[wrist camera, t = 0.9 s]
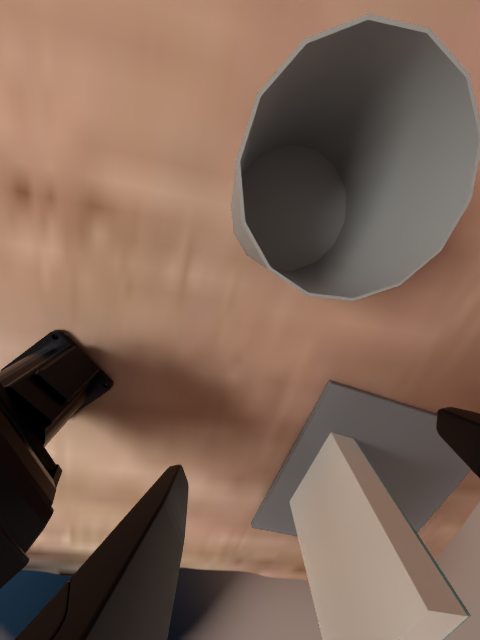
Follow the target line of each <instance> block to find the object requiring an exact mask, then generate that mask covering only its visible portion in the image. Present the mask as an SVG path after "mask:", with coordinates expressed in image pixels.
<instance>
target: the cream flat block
mask: <svg viewBox="0 0 480 640" xmlns="http://www.w3.org/2000/svg"><path fill="white" fill-rule="evenodd" d="M290 506H291V510H292V514H293V519H294V523H295V527H296V531H297V535H298V539H299V543H300V548H301V552H302V556H303V560H304V564H305V568H306V572H307V577H308V581H309V585H310V589H311V593H312V597H313V601H314V605H315V610H316V614H317V618H318V622H319V626H320V630H321V635H322V639H323V640H445V639H446V638H447V637H448V636H449V635H450V634H451V633H452V632H453V631H455V630H456V629H457V628H458V627H459V626H460V625H461V624H462V623H464V622H465V621H466V620H467V619H468V618H469V617H470V616H471V615H470V614H469V612H468V610H467V609H466V607H465V606H464V604H463V603H462V601H461V600H460V598H459V597H458V595H457V594H456V592H455V591H454V589H453V588H452V586H451V585H450V583H449V581H448V580H447V578H446V577H445V575H444V574H443V572H442V571H441V569H440V568H439V566H438V564H437V563H436V561H435V560H434V558H433V557H432V555H431V554H430V552H429V551H428V549H427V548H426V546H425V545H424V543H423V541H422V540H421V538H420V537H419V535H418V534H417V532H416V531H415V529H414V528H413V526H412V525H411V523H410V522H409V520H408V519H407V517H406V515H405V514H404V512H403V511H402V509H401V508H400V506H399V505H398V503H397V502H396V500H395V499H394V497H393V496H392V494H391V492H390V491H389V489H388V488H387V486H386V485H385V483H384V482H383V480H382V479H381V477H380V476H379V474H378V473H377V471H376V469H375V468H374V466H373V465H372V463H371V462H370V460H369V459H368V457H367V456H366V454H365V453H364V451H363V450H362V448H361V447H360V445H359V443H358V442H357V441H355V440H354V439H353V438H350V437H346V436H343V435H339V434H335V433H332V432H331V433H330V434H329V436H328V438H327V439H326V441H325V443H324V444H323V446H322V448H321V449H320V451H319V453H318V455H317V456H316V458H315V460H314V461H313V463H312V465H311V466H310V468H309V470H308V471H307V473H306V475H305V476H304V478H303V480H302V481H301V483H300V485H299V487H298V488H297V490H296V492H295V493H294V495H293V497H292V498H291V500H290Z"/></svg>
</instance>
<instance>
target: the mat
mask: <svg viewBox="0 0 480 640" xmlns="http://www.w3.org/2000/svg"><path fill="white" fill-rule="evenodd" d="M436 422H437V414H434V413H430V412H427V411H424V410H421V409H418V408H415V407H412V406H408V405H405V404H402V403H399V402H396V401H393V400H389V399H386V398H383V397H380V396H377V395H374V394H371V393H367V392H364V391H361V390H358V389H355V388H352V387H349V386H345V385H342V384H339V383H336V382H333V381H330V380H329V382H328V384H327V386H326V388H325V389H324V391H323V393H322V395H321V397H320V399H319V400H318V402H317V404H316V406H315V408H314V409H313V411H312V413H311V415H310V417H309V419H308V420H307V422H306V424H305V426H304V428H303V429H302V431H301V433H300V435H299V437H298V439H297V440H296V442H295V444H294V446H293V448H292V450H291V451H290V453H289V455H288V457H287V459H286V460H285V462H284V464H283V466H282V468H281V470H280V471H279V473H278V475H277V477H276V479H275V480H274V482H273V484H272V486H271V488H270V490H269V491H268V493H267V495H266V497H265V499H264V501H263V502H262V504H261V506H260V508H259V510H258V511H257V513H256V515H255V517H254V519H253V521H252V522H251V524H252V528H257V529H262V530H267V531H272V532H278V533H283V534H288V535H293V536H298V535H297V531H296V527H295V523H294V519H293V514H292V510H291V506H290V500H291V498H292V497H293V495H294V493H295V492H296V490H297V488H298V487H299V485H300V483H301V481H302V480H303V478H304V476H305V475H306V473H307V471H308V470H309V468H310V466H311V465H312V463H313V461H314V460H315V458H316V456H317V455H318V453H319V451H320V449H321V448H322V446H323V444H324V443H325V441H326V439H327V438H328V436H329V434H330V433H331V432H332V433H335V434H339V435H343V436H346V437H350V438H353V439H354V440H355V441H357V442H358V443H359V445H360V447H361V448H362V450H363V451H364V453H365V454H366V456H367V457H368V459H369V460H370V462H371V463H372V465H373V466H374V468H375V469H376V471H377V473H378V474H379V476H380V477H381V479H382V480H383V482H384V483H385V485H386V486H387V488H388V489H389V491H390V492H391V494H392V496H393V497H394V499H395V500H396V502H397V503H398V505H399V506H400V508H401V509H402V511H403V512H404V514H405V515H406V517H407V519H408V520H409V522H410V523H411V525H412V526H413V528H414V529H415V531H416V532H418V531H419V530H420V529H421V528H422V527H423V525H424V524H425V523H426V522H427V521H428V520H429V518H430V517H431V516H432V515H433V514H434V512H435V511H436V510H437V509H438V508H439V507H440V505H441V504H442V503H443V502H444V501H445V500H446V498H447V497H448V496H449V495H450V494H451V493H452V491H453V490H454V489H455V488H456V487H457V486H458V484H459V483H460V482H461V481H462V480H463V478H464V477H465V476H466V475H467V474H468V473H469V471H470V470H471V469H470V468H469V467H468V466H467V465H466V464H465V463H464V461H463V460H462V459H461V458H460V457H459V456H458V455H457V454H456V453H455V452H454V451H453V450H452V449H451V448H450V446H449V445H448V444H447V443H446V442H445V441H444V440H443V439H442V438H441V437H440V435H439V434H438V432H437V429H436Z"/></svg>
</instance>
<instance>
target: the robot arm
mask: <svg viewBox="0 0 480 640" xmlns="http://www.w3.org/2000/svg"><path fill="white" fill-rule="evenodd" d="M55 335H57V336H58V338H57V337H56V336H55ZM105 383H107V384H108V385H105ZM113 384H114V383H113V381H112V380H111V379H110V378H109V377H108V376H107V375H106V374H105V373H104V372H103V371H102V370H101V369H100V368H99V367H98V366H97V365H96V364H95V363H94V362H93V361H92V360H91V359H90V358H89V357H88V356H87V355H86V354H85V353H84V352H83V351H82V350H81V349H80V348H79V347H78V346H77V345H76V344H75V343H74V342H73V341H71V340H70V339H69V338H68V337H67V336H66V335H65V334H64V333H63V332H62V331H60V330H54V331H52V332H50V333H49V334H48V335H46V336H45V337H44V338H42V339H41V340H40V341H38V342H37V343H36V344H34V345H33V346H32V347H30V348H29V349H28V350H27V351H25V352H24V353H23V354H21V355H20V356H19V357H17V358H16V359H15V360H13V361H12V362H11V363H9V364H8V365H7V366H5V367H4V368H3V369H2V370H1V372H0V589H1V588H2V587H3V586H4V585H5V584H6V583H7V582H8V581H9V580H10V579H12V578H13V577H14V576H15V575H16V574H17V573H18V572H19V571H20V570H21V569H23V568H24V567H25V566H26V565H27V563H28V562H29V557H28V556H27V555H26V554H25V553H26V552H27V551H28V550H29V548H30V547H31V546H32V544H33V543H34V542H35V540H36V539H37V538H38V536H39V535H40V534H41V532H42V531H43V530H44V528H45V526H46V525H47V523H48V521H49V519H50V518H51V516H52V514H53V511H54V510H53V508H52V507H51V506H52V504H53V500H54V496H55V493H56V487H57V484H58V481H59V479H60V476H61V473H62V469H61V468H60V466H59V465H58V464H55V462H54V461H53V459H52V458H51V456H50V455H49V453H48V452H47V450H46V449H45V448H44V447H45V446H46V445H47V443H48V442H49V441H50V440H51V439H52V438H53V437H54V436H55V434H56V433H57V432H58V431H59V430H60V429H61V428H62V427H63V425H64V424H65V423H66V422H67V421H68V420H69V419H70V418H71V416H72V415H73V414H75V413H76V412H78V411H79V410H81V409H82V408H83V407H85V406H86V405H88V404H89V403H91V402H92V401H94V400H95V399H97V398H98V397H100V396H101V395H103V394H104V393H105V392H107V391H108V390H110V389H111V388H112V386H113ZM436 429H437V432H438V434H439V435H440V437H441V438H442V439H443V440H444V441H445V442H446V443H447V444H448V445H449V446H450V448H451V449H452V450H453V451H454V452H455V453H456V454H457V455H458V456H459V457H460V458H461V459H462V460H463V461H464V463H465V464H466V465H467V466H468V467H469V468H470V469H471V470H472V471H473V472H474V473H475V474H476V475H477V476H478V477H479V478H480V414H479V413H475V412H471V411H467V410H462V409H458V408H454V407H447V408H442V409H439V410H438V412H437V422H436ZM187 501H188V481H187V478H186V476H185V473H184V470H183V467H182V466H181V465H174V466H170V467H169V468H168V469H167V470H166V471H165V472H164V473H163V474H162V475H161V477H160V478H159V479H158V480H157V481H156V482H155V483H154V485H153V486H152V487H151V488H150V489H149V490H148V491H147V492H146V494H145V495H144V496H143V497H142V498H141V499H140V500H139V502H138V503H137V504H136V505H135V506H134V507H133V508H132V509H131V511H130V512H129V513H128V514H127V515H126V516H125V517H124V519H123V520H122V521H121V522H120V523H119V524H118V525H117V526H116V528H115V529H114V530H113V531H112V532H111V533H110V534H109V536H108V537H107V538H106V539H105V540H104V541H103V542H102V544H101V545H100V546H99V547H98V548H97V549H96V550H95V551H94V553H93V554H92V555H91V556H90V557H89V558H88V559H87V561H86V562H85V563H84V564H83V565H82V566H81V567H80V568H79V570H78V571H77V572H76V573H75V574H74V575H73V576H72V578H71V580H70V581H68V582H67V583H66V584H65V585H64V586H63V587H62V588H61V589H60V590H59V592H58V593H57V594H56V595H55V596H54V597H53V598H52V599H51V601H50V602H49V603H48V604H47V605H46V606H45V607H44V608H43V610H42V611H41V612H40V613H39V614H38V615H37V616H36V617H35V618H34V620H32V622H31V623H30V624H29V625H28V626H27V627H26V628H25V629H24V631H22V632H21V633H20V635H19V636H18V637H17V638H16V639H15V640H167V636H168V630H169V624H170V619H171V613H172V607H173V602H174V596H175V590H176V585H177V579H178V574H179V568H180V562H181V557H182V551H183V545H184V538H185V527H186V514H187Z"/></svg>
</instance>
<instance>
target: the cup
mask: <svg viewBox="0 0 480 640" xmlns="http://www.w3.org/2000/svg"><path fill="white" fill-rule="evenodd" d="M479 157H480V119H479V114H478V110H477V105H476V100H475V96H474V91H473V86H472V82H471V77H470V74H469V73H468V72H467V70H466V69H465V68H464V67H463V66H462V65H461V64H460V62H459V61H458V60H457V59H456V58H455V57H454V56H453V54H452V53H451V52H450V51H449V50H448V49H447V48H446V46H445V45H444V44H443V43H442V42H441V41H440V40H439V39H438V37H437V36H436V35H435V34H434V33H433V32H432V31H431V29H430V28H428V27H423V26H419V25H415V24H411V23H406V22H402V21H398V20H393V19H389V18H385V17H380V16H376V15H372V14H366V15H364V16H361V17H359V18H356V19H354V20H351V21H349V22H346V23H343V24H341V25H338V26H336V27H333V28H331V29H328V30H326V31H323V32H320V33H318V34H315V35H313V36H310V37H308V38H305V39H304V40H303V41H302V43H301V44H300V45H299V46H298V47H297V48H296V50H295V51H294V52H293V53H292V54H291V55H290V56H289V58H288V59H287V60H286V61H285V62H284V63H283V65H282V66H281V67H280V68H279V69H278V70H277V72H276V73H275V74H274V75H273V76H272V77H271V79H270V80H269V81H268V82H267V83H266V84H265V85H264V87H263V88H262V89H261V90H260V91H259V92H258V94H257V97H256V100H255V103H254V106H253V109H252V113H251V116H250V119H249V122H248V125H247V128H246V132H245V135H244V138H243V141H242V144H241V148H240V151H239V154H238V157H237V160H236V168H235V176H234V184H233V193H232V201H231V210H232V220H233V230H234V234H235V236H236V237H237V239H238V241H239V243H240V244H241V246H242V248H243V250H244V251H245V253H246V255H248V256H249V257H250V258H252V259H253V260H255V261H256V262H258V263H259V264H261V265H262V266H264V267H265V268H267V269H268V270H270V271H271V272H273V273H274V274H276V275H277V276H279V277H280V278H281V279H283V280H284V281H286V282H287V283H289V284H290V285H292V286H293V287H295V288H296V289H298V290H299V291H301V292H302V293H304V294H305V295H307V296H313V297H322V298H330V299H339V300H347V301H355V300H358V299H361V298H364V297H367V296H370V295H373V294H376V293H379V292H382V291H385V290H388V289H391V288H394V287H397V286H400V285H401V284H402V283H403V282H405V281H406V280H407V279H408V278H409V277H411V276H412V275H413V274H414V273H415V272H417V271H418V270H419V269H420V268H421V267H423V266H424V265H425V264H426V263H427V262H429V261H430V260H431V259H432V258H433V257H435V256H436V255H437V254H438V253H439V252H441V250H442V249H443V247H444V245H445V244H446V242H447V240H448V239H449V237H450V235H451V233H452V232H453V230H454V228H455V227H456V225H457V223H458V222H459V220H460V218H461V216H462V215H463V213H464V211H465V210H466V208H467V206H468V205H469V203H470V201H471V199H472V194H473V189H474V184H475V178H476V173H477V168H478V163H479Z"/></svg>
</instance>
